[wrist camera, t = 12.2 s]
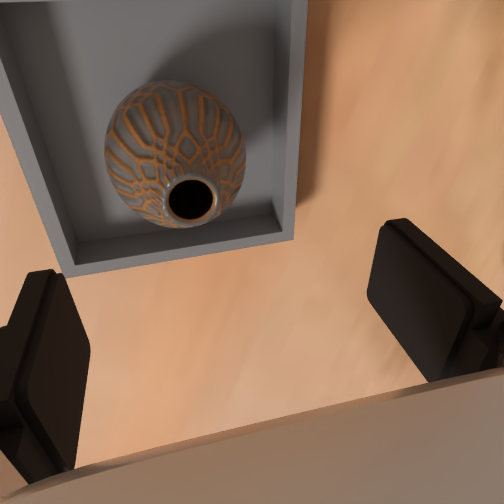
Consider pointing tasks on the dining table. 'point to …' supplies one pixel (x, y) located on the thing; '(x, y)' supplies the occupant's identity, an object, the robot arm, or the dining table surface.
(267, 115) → the tray
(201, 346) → the dining table surface
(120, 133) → the vase
